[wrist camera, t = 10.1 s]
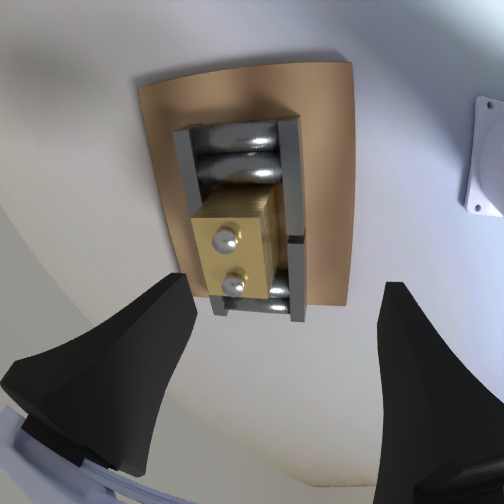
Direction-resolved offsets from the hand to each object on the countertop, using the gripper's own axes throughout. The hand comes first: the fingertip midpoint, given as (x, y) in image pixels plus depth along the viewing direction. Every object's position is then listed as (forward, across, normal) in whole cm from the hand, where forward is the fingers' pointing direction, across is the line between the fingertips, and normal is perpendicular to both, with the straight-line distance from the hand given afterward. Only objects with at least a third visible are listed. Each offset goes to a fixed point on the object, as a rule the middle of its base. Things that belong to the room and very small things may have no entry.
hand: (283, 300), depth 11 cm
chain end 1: (+9, +3, -2) cm, 10 cm away
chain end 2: (+9, +3, +6) cm, 11 cm away
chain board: (+10, +3, 0) cm, 11 cm away
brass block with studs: (+9, +3, +2) cm, 10 cm away
